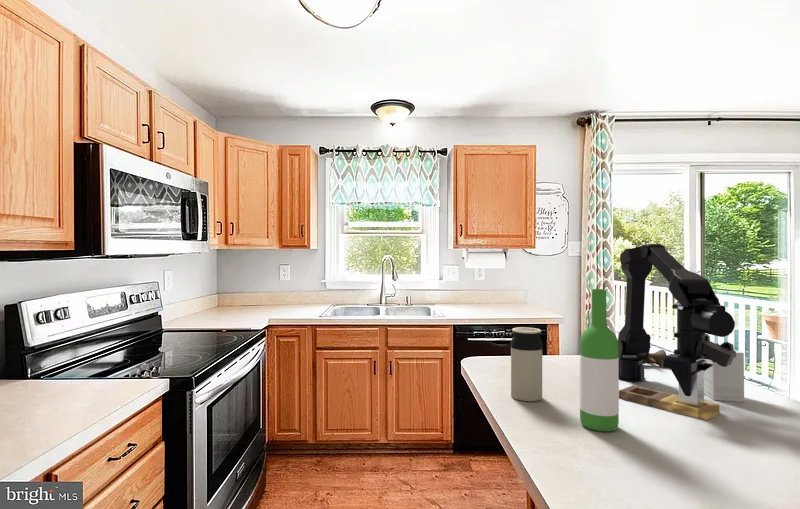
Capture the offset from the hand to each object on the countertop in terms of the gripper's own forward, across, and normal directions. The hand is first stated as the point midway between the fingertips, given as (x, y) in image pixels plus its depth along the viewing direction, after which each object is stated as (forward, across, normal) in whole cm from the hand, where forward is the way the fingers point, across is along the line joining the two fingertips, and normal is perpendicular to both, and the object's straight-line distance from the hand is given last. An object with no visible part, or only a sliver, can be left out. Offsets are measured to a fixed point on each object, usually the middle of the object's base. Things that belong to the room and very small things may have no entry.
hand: (691, 394), depth 106 cm
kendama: (+5, +42, +28) cm, 51 cm away
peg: (+3, 0, 0) cm, 3 cm away
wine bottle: (+4, -27, +8) cm, 29 cm away
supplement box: (+4, +19, -1) cm, 19 cm away
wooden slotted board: (+4, 0, +5) cm, 7 cm away
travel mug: (+4, -23, +30) cm, 38 cm away
